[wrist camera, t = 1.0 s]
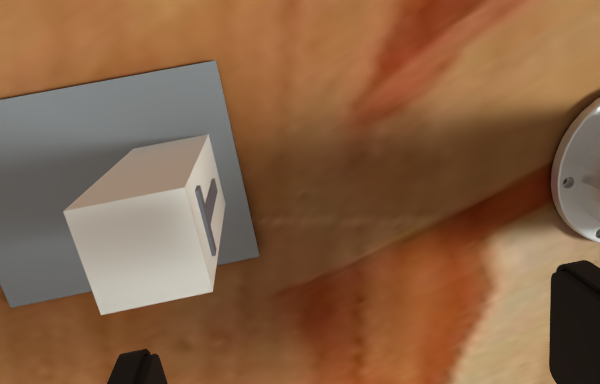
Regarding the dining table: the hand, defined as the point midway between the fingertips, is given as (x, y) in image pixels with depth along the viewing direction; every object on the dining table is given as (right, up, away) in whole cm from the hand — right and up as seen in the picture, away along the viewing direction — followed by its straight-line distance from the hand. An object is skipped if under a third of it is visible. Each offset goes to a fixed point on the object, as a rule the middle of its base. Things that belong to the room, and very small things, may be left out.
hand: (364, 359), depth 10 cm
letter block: (-10, +5, +20) cm, 23 cm away
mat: (-15, +4, +21) cm, 26 cm away
